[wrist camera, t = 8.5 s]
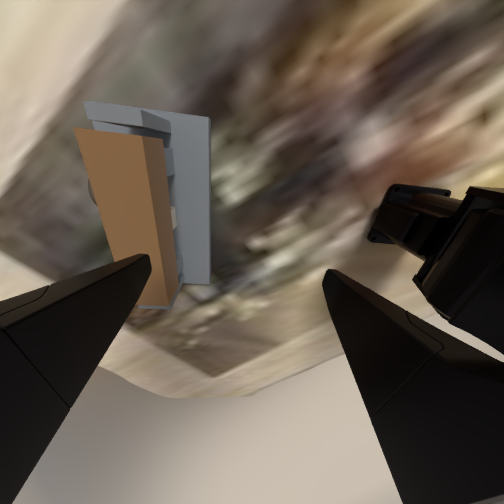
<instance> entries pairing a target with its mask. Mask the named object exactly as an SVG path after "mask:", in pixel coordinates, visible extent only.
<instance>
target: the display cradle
mask: <svg viewBox="0 0 504 504" xmlns="http://www.w3.org/2000/svg"><path fill="white" fill-rule="evenodd" d="M84 106H85V110H86V113H87V117H88V119H89V120H92V122H93V126H94V130H98V131H106V132H114V133H123V134H131V135H139V136H146V137H153V138H160V139H163V145H164V154H165V163H166V172H167V181H168V190H169V199H170V208H171V217H172V226H173V235H174V244H175V253H176V262H177V271H178V280H179V286H178V288H177V290H176V292H175V294H174V296H173V298H172V300H171V303H170V305H169V306H151V305H138V307H139V308H146V309H169V310H171V308H172V306H173V304H174V301H175V299H176V297H177V295H178V293H179V290H180V288H181V286H182V284H183V283H189V284H206V285H210V281H211V119H210V118H209V117H202V116H195V115H188V114H180V113H173V112H166V111H159V110H151V109H144V108H137V107H130V106H122V105H115V104H108V103H101V102H93V101H87V102H84Z"/></svg>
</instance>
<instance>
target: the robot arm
mask: <svg viewBox="0 0 504 504" xmlns="http://www.w3.org/2000/svg"><path fill="white" fill-rule="evenodd" d="M396 187H397V189H396V190H395V188H396ZM394 190H395V191H394ZM465 194H467V195H466V196H465V198H464V199H463V200H459V199H454V198H450V195H451V191H450V190H446V189H438V188H429V187H421V186H412V185H404V184H393V185H392V186H391V187H390V189H389V191H388V193H387V195H386V198H385V200H384V202H383V204H382V206H381V209H380V211H379V213H378V215H377V217H376V220H375V222H374V224H373V226H372V228H371V231H370V233H369V235H368V237H367V239H368V241H370V242H373V243H385V244H397V245H398V246H400V247H402V248H403V249H405V250H407V251H408V252H410V253H412V254H413V255H415V256H416V257H418V258H420V259H421V260H423V261H425V262H424V263H423V265H422V267H421V268H420V270H419V271H418V273H417V275H415V276H414V277H413V279H412V280H413V282H414V283H415V284H416V286H417V287H418V288H419V290H420V291H421V292H422V294H423V295H424V296H425V298H426V300H427V302H428V303H429V304H430V305H431V306H432V307H433V308H434V309H435V310H436V312H437V313H438V314H440V316H441V317H442V318H444V319H445V320H447V321H448V322H449V323H450V324H451V325H453V326H455V327H457V328H460V329H462V330H464V331H466V332H468V333H470V334H472V335H473V336H475V337H477V338H479V339H480V340H482V341H484V342H485V343H487V344H489V345H490V346H492V347H493V348H495V349H496V350H498V351H499V352H501V353H502V354H503V355H504V188H490V187H475V186H470V187H469V188H468V190H467V192H466V193H465ZM372 237H374V238H373V239H372ZM151 272H152V266H151V261H150V256H149V255H148V254H142V253H139V254H136V255H133V256H130V257H127V258H125V259H122V260H119V261H116V262H113V263H110V264H107V265H105V266H102V267H99V268H96V269H93V270H90V271H87V272H85V273H82V274H79V275H76V276H73V277H70V278H68V279H65V280H62V281H59V282H56V283H53V284H51V285H50V286H49V285H47V286H45V287H42V288H39V289H36V290H33V291H30V292H27V293H24V294H21V295H18V296H15V297H12V298H9V299H6V300H3V301H0V504H12V503H13V501H14V500H15V498H16V496H17V495H18V493H19V491H20V490H21V488H22V487H23V485H24V483H25V482H26V480H27V479H28V477H29V475H30V474H31V472H32V471H33V469H34V467H35V466H36V464H37V463H38V461H39V459H40V457H41V456H42V454H43V453H44V451H45V450H46V448H47V446H48V445H49V443H50V442H51V440H52V438H53V437H54V435H55V434H56V432H57V430H58V429H59V427H60V426H61V424H62V422H63V421H64V419H65V417H66V416H67V414H68V413H69V411H70V408H71V407H72V406H73V404H74V403H75V401H76V399H77V398H78V396H79V394H80V393H81V391H82V390H83V388H84V387H85V385H86V383H87V382H88V380H89V379H90V377H91V375H92V374H93V372H94V370H95V369H96V367H97V366H98V364H99V362H100V361H101V359H102V358H103V356H104V354H105V353H106V351H107V350H108V348H109V346H110V345H111V343H112V342H113V340H114V338H115V337H116V335H117V333H118V332H119V330H120V329H121V327H122V325H123V324H124V322H125V321H126V319H127V317H128V316H129V314H130V313H131V311H132V309H133V308H134V306H135V304H136V303H137V301H138V299H139V298H140V296H141V294H142V292H143V290H144V287H145V285H146V283H147V281H148V279H149V277H150V275H151ZM322 287H323V291H324V295H325V299H326V302H327V306H328V310H329V313H330V316H331V318H332V321H333V323H334V326H335V329H336V331H337V334H338V336H339V339H340V342H341V344H342V347H343V349H344V352H345V355H346V357H347V360H348V362H349V365H350V368H351V370H352V373H353V375H354V378H355V380H356V383H357V385H358V388H359V391H360V393H361V396H362V399H363V401H364V404H365V406H366V409H367V411H368V414H369V417H370V418H371V422H372V425H373V427H374V430H375V433H376V435H377V438H378V441H379V443H380V446H381V448H382V451H383V454H384V456H385V459H386V461H387V464H388V466H389V469H390V471H391V474H392V477H393V479H394V482H395V485H396V487H397V490H398V492H399V495H400V498H401V500H402V503H403V504H504V362H501V361H499V360H497V359H495V358H493V357H491V356H489V355H487V354H485V353H483V352H481V351H479V350H478V349H476V348H474V347H472V346H470V345H468V344H466V343H464V342H462V341H460V340H459V339H457V338H455V337H453V336H451V335H449V334H447V333H445V332H444V331H442V330H440V329H438V328H436V327H434V326H433V325H431V324H429V323H427V322H425V321H424V320H422V319H420V318H418V317H417V316H415V315H413V314H411V313H410V312H408V311H405V310H404V309H403V308H401V307H399V306H398V305H396V304H394V303H392V302H391V301H389V300H387V299H386V298H384V297H382V296H380V295H379V294H377V293H375V292H374V291H372V290H370V289H368V288H367V287H365V286H363V285H362V284H360V283H358V282H356V281H355V280H353V279H351V278H350V277H348V276H346V275H344V274H343V273H341V272H339V271H337V270H335V269H328V270H327V271H326V273H325V276H324V279H323V281H322Z"/></svg>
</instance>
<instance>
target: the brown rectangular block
mask: <svg viewBox="0 0 504 504" xmlns="http://www.w3.org/2000/svg"><path fill="white" fill-rule="evenodd" d="M73 128H74V127H73ZM74 131H75V134H76V138H77V141H78V144H79V147H80V151H81V154H82V157H83V160H84V164H85V167H86V170H87V174H88V177H89V179H88V189H89V193H90V196H91V198H92V200H93V202H94V203H95V204H96V206H98V209H99V213H100V216H101V219H102V222H103V226H104V229H105V232H106V235H107V239H108V242H109V245H110V248H111V252H112V255H113V258H114V262H116V261H119V260H122V259H125V258H127V257H130V256H133V255H136V254H139V253H142V254H148V255H149V256H150V261H151V266H152V272H151V275H150V277H149V279H148V281H147V283H146V285H145V287H144V290H143V292H142V294H141V296H140V298H139V299H138V301H137V303H136V304H135V305H151V306H169V305H170V303H171V300H172V298H173V296H174V294H175V292H176V290H177V288H178V286H179V280H178V271H177V262H176V253H175V244H174V235H173V226H172V217H171V208H170V199H169V190H168V181H167V172H166V163H165V154H164V145H163V139H160V138H153V137H146V136H139V135H131V134H123V133H114V132H106V131H98V130H90V129H82V128H74Z"/></svg>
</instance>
